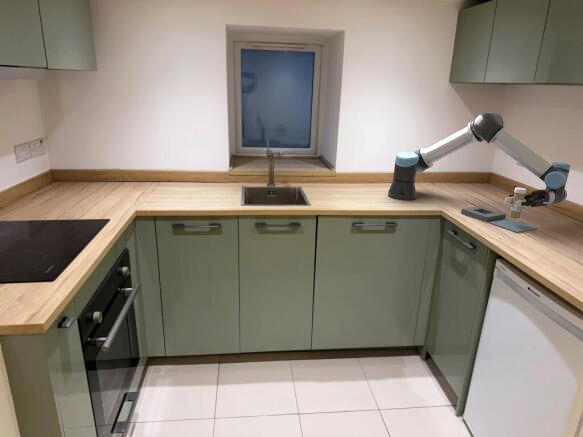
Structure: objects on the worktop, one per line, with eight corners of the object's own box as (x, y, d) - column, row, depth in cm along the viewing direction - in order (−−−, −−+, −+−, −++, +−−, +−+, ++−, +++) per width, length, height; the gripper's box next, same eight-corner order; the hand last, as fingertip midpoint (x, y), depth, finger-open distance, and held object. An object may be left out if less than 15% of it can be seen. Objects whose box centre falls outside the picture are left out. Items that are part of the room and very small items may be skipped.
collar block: (460, 213, 198) (461, 208, 197) (479, 210, 205) (480, 205, 204) (486, 222, 187) (487, 217, 186) (505, 218, 194) (506, 213, 193)
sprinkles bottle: (506, 215, 184) (512, 186, 180) (515, 216, 185) (522, 187, 180) (512, 219, 180) (519, 189, 176) (522, 219, 180) (529, 189, 176)
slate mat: (488, 223, 186) (488, 221, 186) (507, 219, 193) (507, 218, 193) (517, 233, 175) (517, 231, 174) (536, 229, 181) (536, 227, 181)
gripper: (558, 210, 183) (527, 216, 171) (521, 200, 197) (490, 205, 186) (562, 194, 180) (531, 199, 169) (525, 185, 194) (494, 189, 183)
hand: (510, 202), depth 177 cm, fingers closed on sprinkles bottle, 4 cm apart
